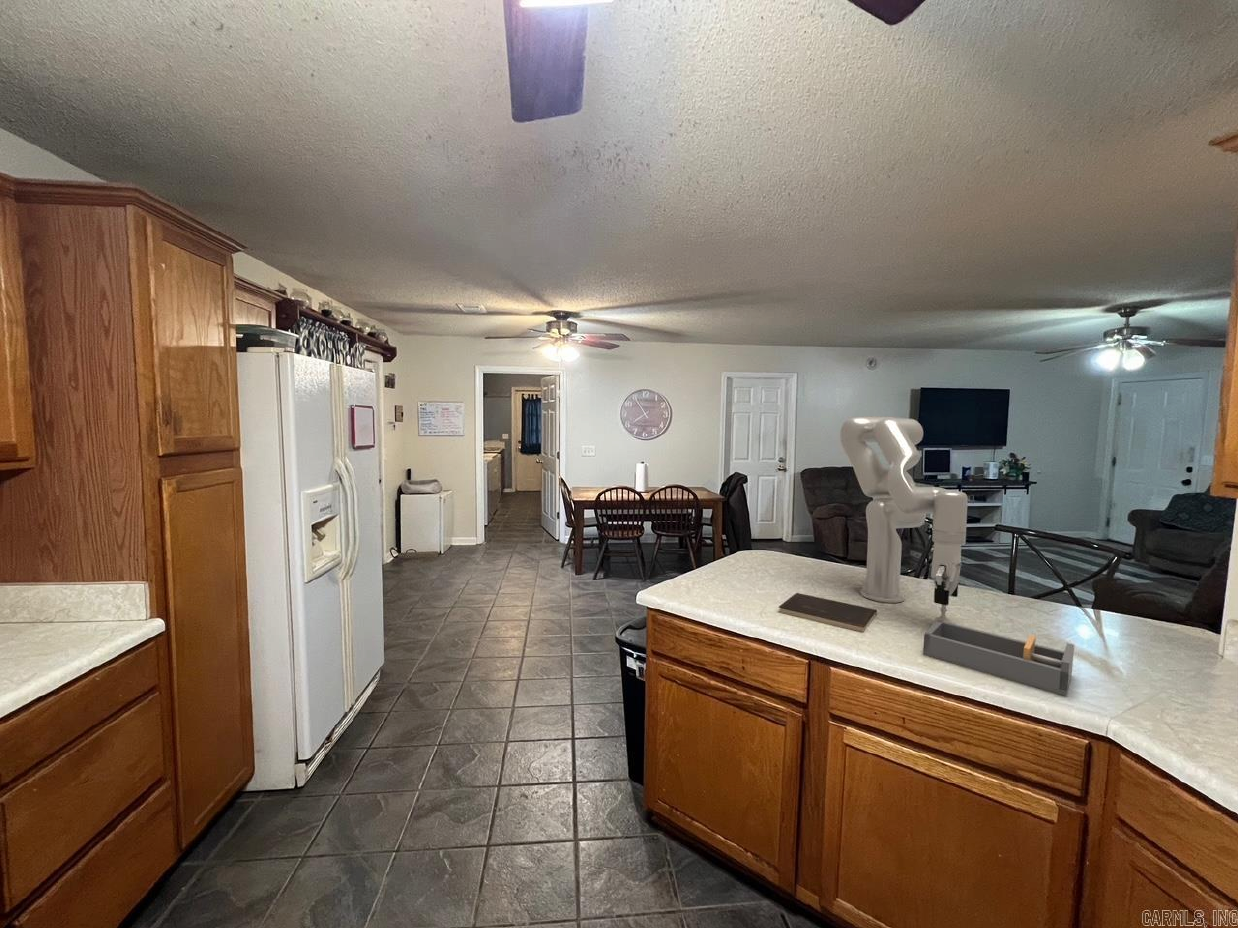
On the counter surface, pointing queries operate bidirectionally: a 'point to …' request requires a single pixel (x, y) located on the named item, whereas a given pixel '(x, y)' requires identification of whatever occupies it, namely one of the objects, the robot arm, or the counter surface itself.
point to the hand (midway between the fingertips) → (945, 599)
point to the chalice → (951, 588)
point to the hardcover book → (829, 611)
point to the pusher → (1030, 655)
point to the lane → (999, 656)
